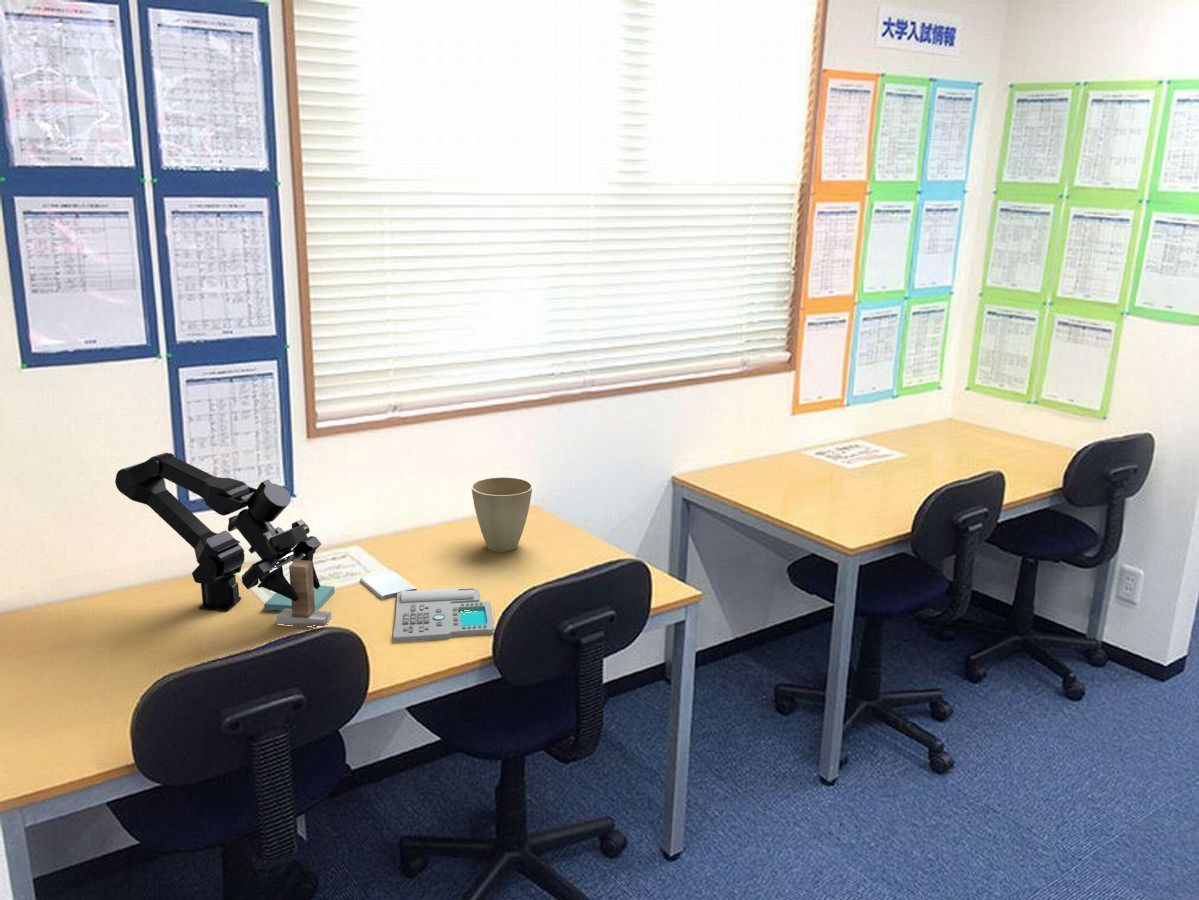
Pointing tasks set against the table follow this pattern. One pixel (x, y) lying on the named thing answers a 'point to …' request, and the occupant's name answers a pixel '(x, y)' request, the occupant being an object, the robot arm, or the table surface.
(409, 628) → the office telephone
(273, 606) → the plate
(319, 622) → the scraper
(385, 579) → the hard drive
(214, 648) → the table surface
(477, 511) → the plant pot
